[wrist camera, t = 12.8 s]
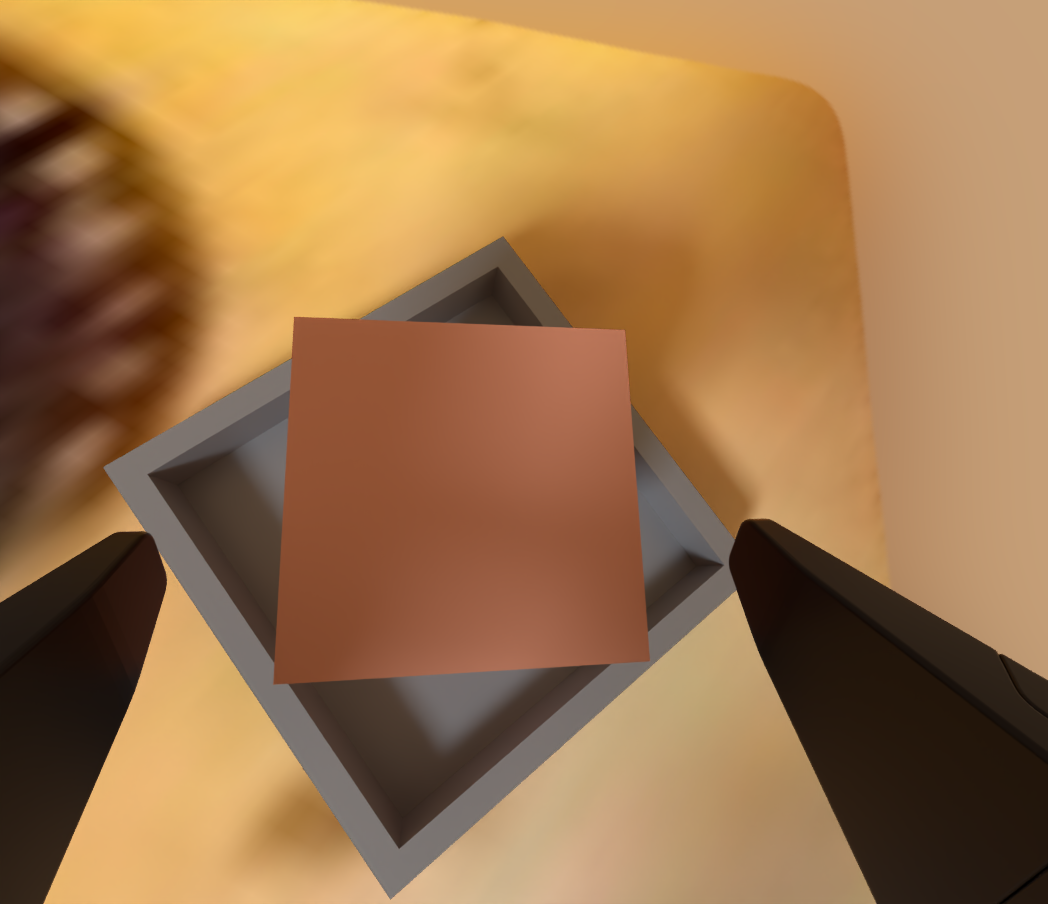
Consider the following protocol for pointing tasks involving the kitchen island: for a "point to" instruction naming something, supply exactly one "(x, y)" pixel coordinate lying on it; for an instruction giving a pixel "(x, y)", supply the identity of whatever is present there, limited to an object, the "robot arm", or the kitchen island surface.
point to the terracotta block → (457, 502)
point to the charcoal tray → (413, 701)
